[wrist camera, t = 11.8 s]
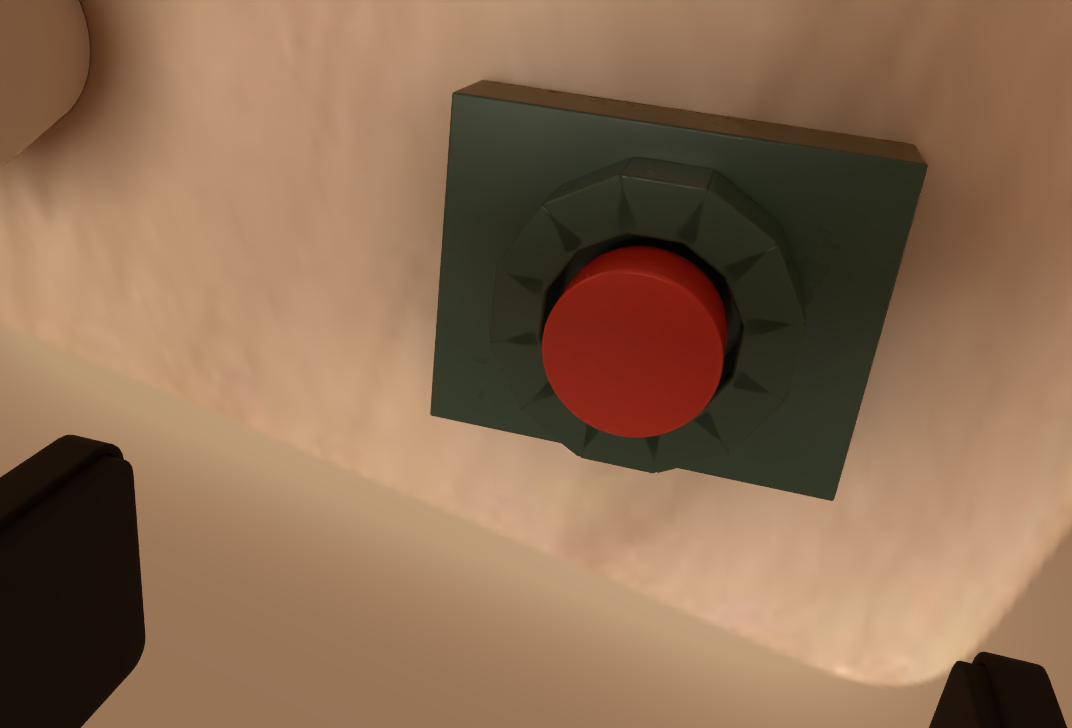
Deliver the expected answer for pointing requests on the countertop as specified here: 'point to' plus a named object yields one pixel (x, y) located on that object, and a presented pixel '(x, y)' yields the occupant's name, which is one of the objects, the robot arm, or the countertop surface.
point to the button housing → (692, 232)
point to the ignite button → (636, 342)
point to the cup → (39, 68)
